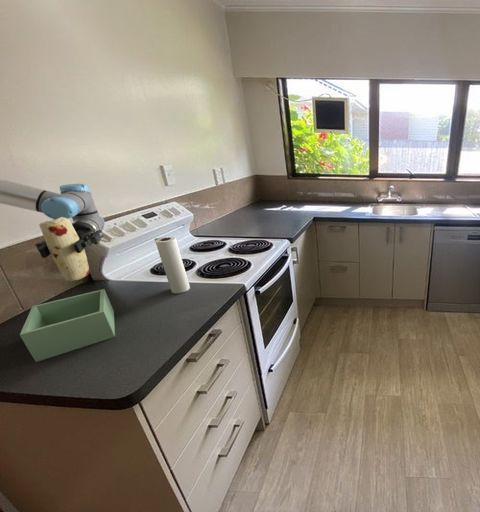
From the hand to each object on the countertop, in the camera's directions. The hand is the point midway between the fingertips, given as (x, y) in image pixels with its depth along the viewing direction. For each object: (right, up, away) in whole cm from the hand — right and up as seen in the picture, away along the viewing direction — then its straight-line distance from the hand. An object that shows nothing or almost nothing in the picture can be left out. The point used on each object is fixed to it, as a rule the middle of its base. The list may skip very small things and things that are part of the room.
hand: (60, 251), depth 87 cm
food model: (-3, -9, +8) cm, 12 cm away
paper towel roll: (+18, -15, +27) cm, 35 cm away
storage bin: (+5, -25, +1) cm, 26 cm away
